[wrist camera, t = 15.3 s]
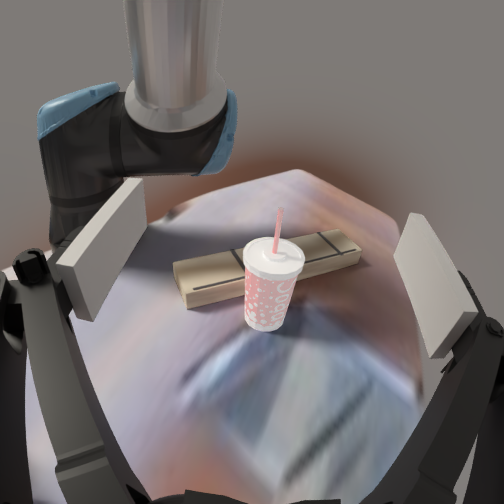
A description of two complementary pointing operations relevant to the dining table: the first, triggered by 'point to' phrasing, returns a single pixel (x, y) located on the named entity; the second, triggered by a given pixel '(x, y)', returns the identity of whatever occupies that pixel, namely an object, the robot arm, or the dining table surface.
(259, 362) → the dining table surface
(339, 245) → the maple strip
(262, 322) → the beverage cup
